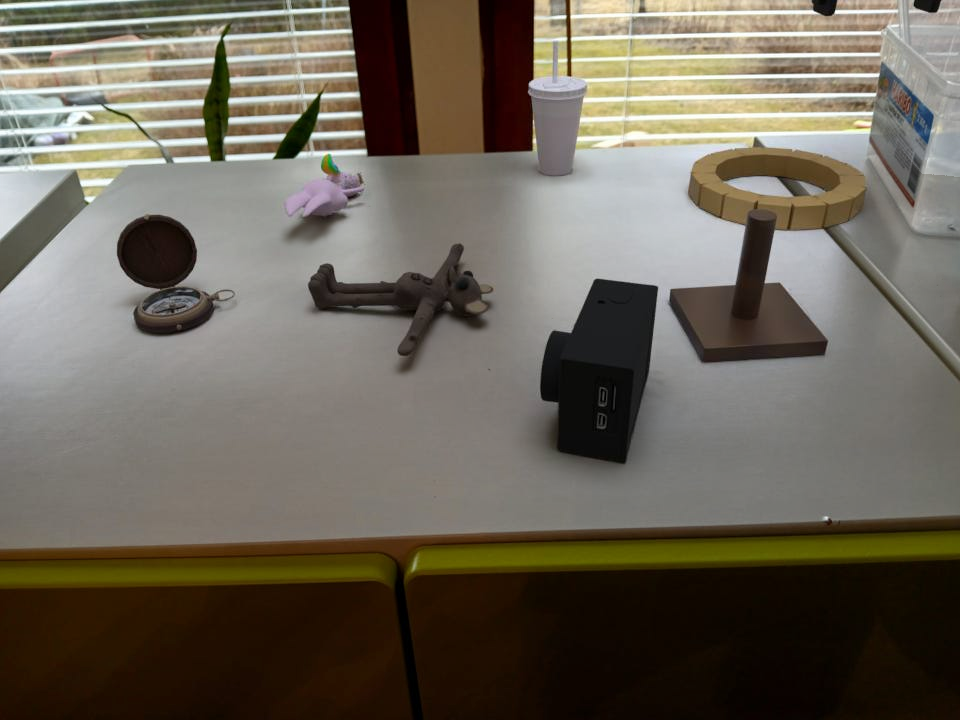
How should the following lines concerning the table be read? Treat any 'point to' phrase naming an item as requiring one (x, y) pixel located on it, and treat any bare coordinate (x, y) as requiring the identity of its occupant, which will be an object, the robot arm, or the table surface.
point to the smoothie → (556, 118)
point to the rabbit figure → (325, 192)
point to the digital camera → (601, 369)
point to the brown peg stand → (747, 308)
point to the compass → (163, 273)
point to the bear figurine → (406, 294)
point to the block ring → (791, 211)
